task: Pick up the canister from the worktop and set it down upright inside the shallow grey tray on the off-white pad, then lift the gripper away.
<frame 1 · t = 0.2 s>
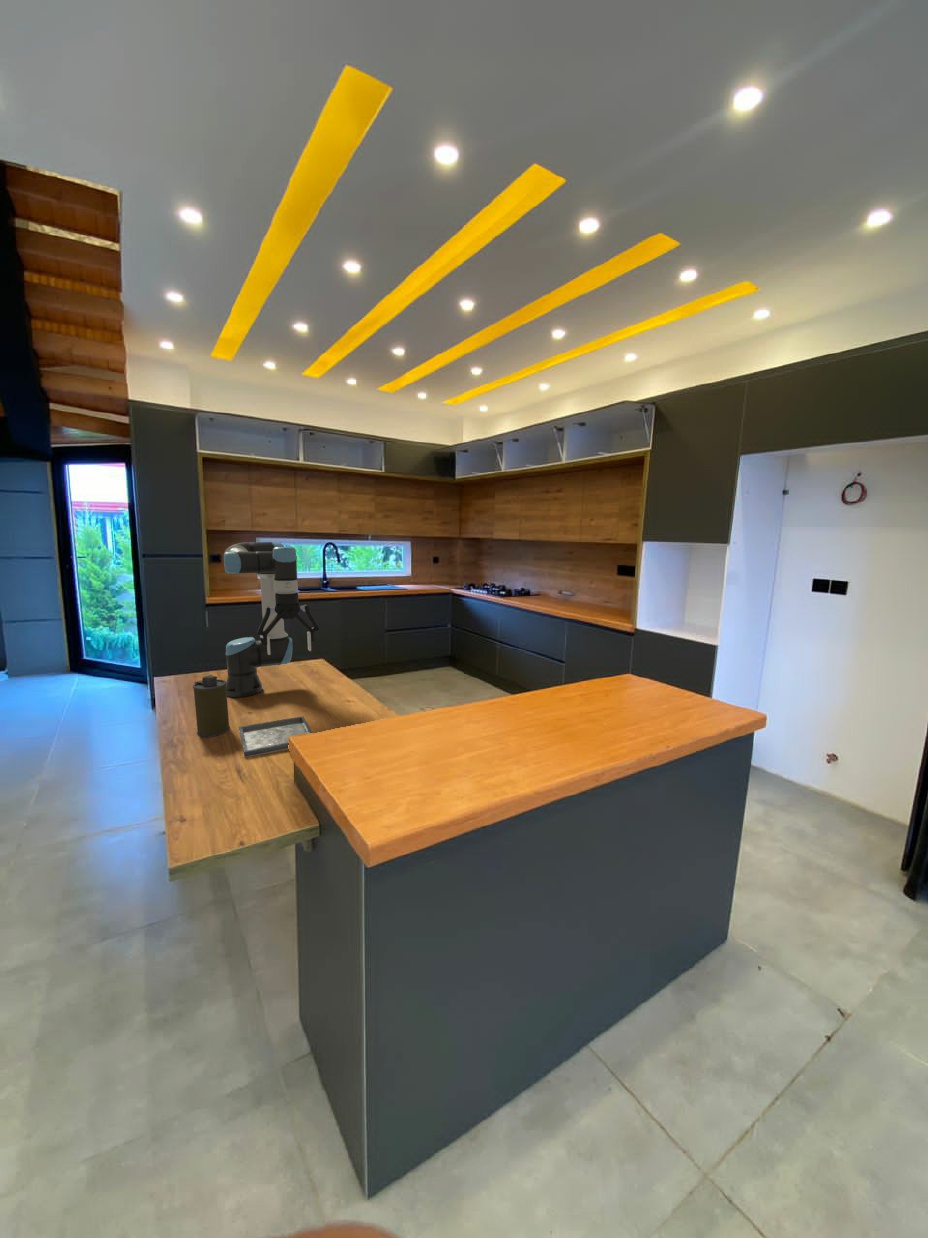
hand: (289, 652, 170), 28 cm above the table, tool pointing down, fingers open, 13 cm apart
shallow grey tray: (276, 737, 166), on the table
canister: (213, 731, 171), on the table
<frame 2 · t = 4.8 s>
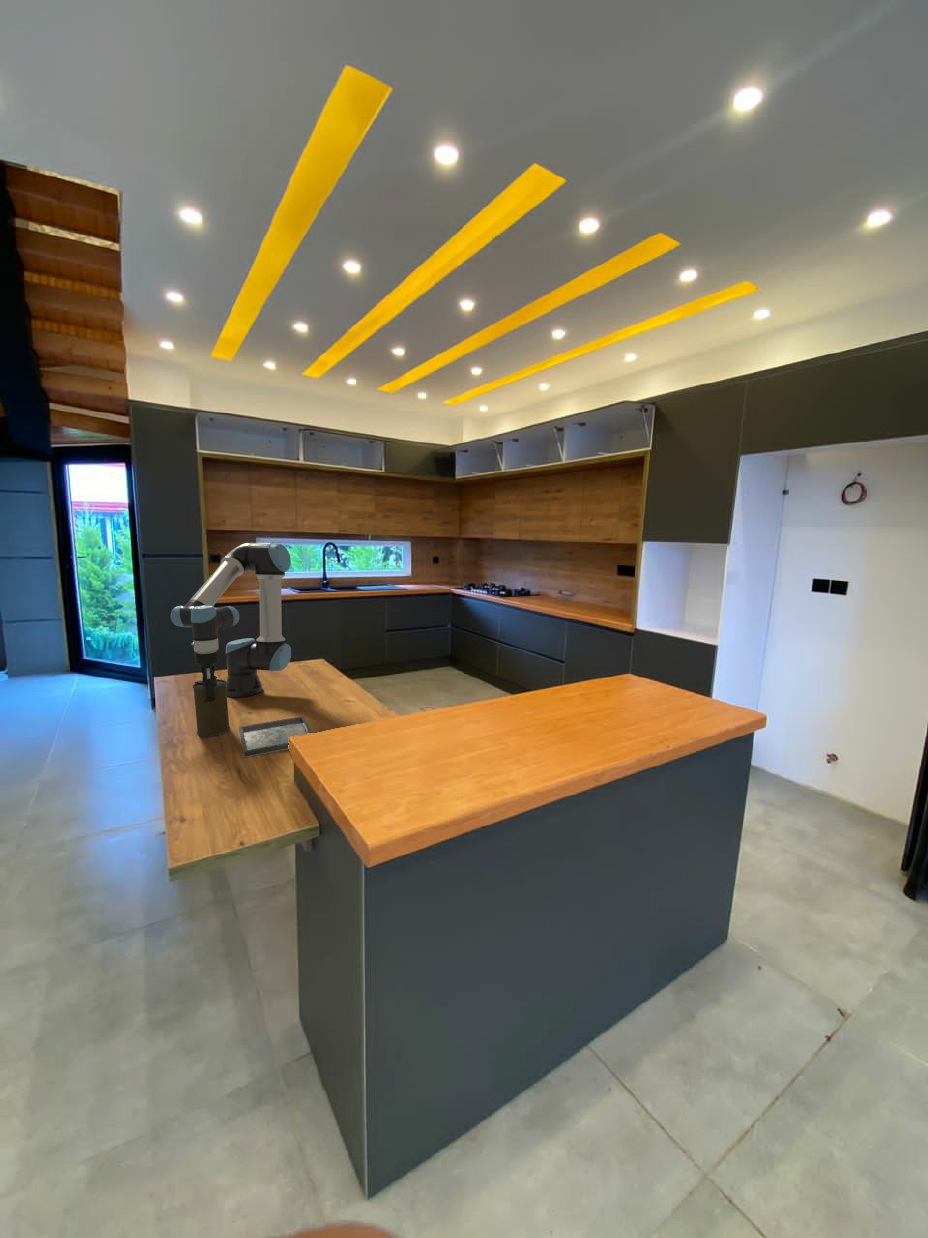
hand: (211, 715, 170), 6 cm above the table, tool pointing down, fingers open, 6 cm apart
canister: (213, 731, 171), on the table, touching hand
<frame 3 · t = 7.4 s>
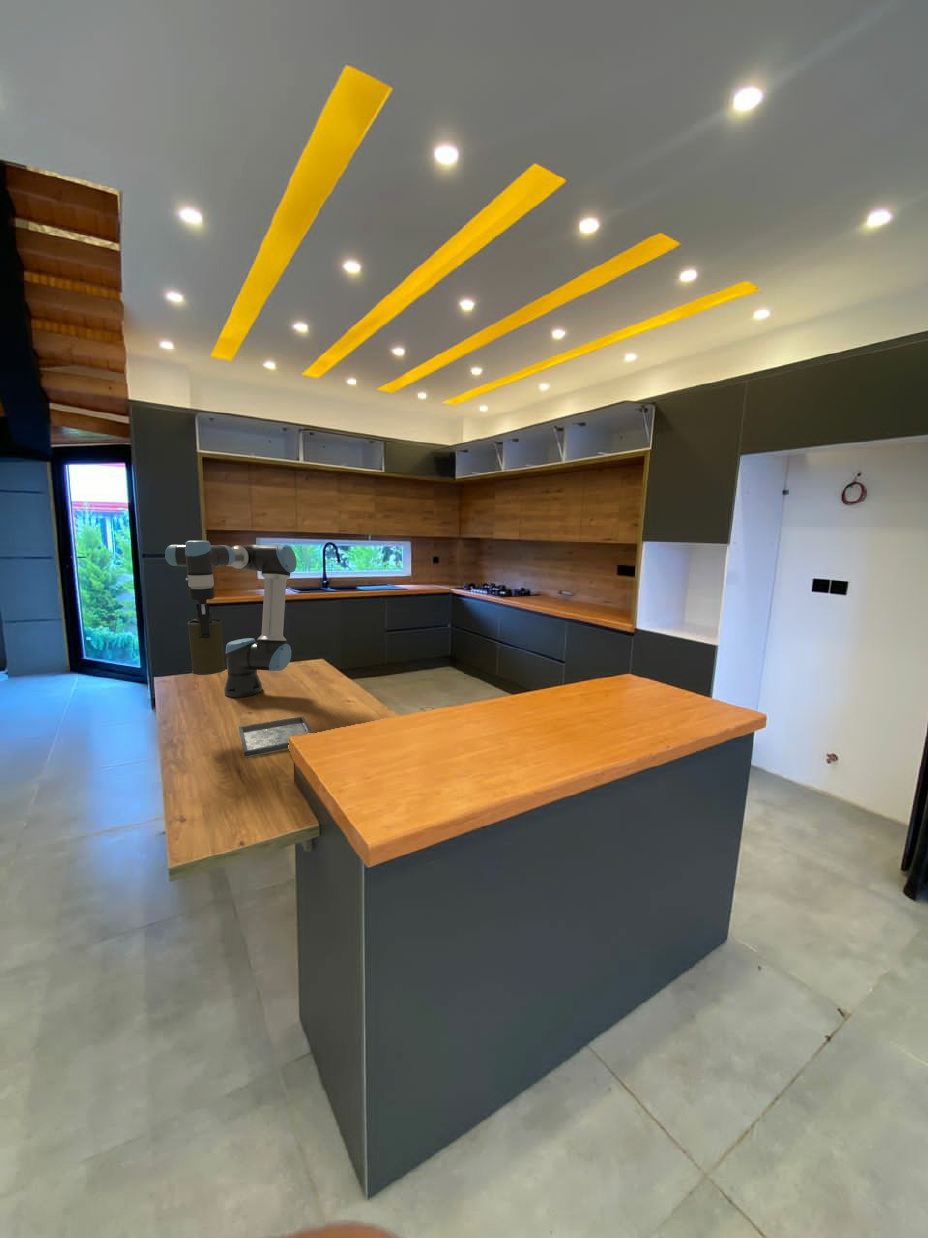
hand: (207, 654, 166), 28 cm above the table, tool pointing down, fingers open, 6 cm apart
canister: (208, 671, 167), point 22 cm above the table, touching hand
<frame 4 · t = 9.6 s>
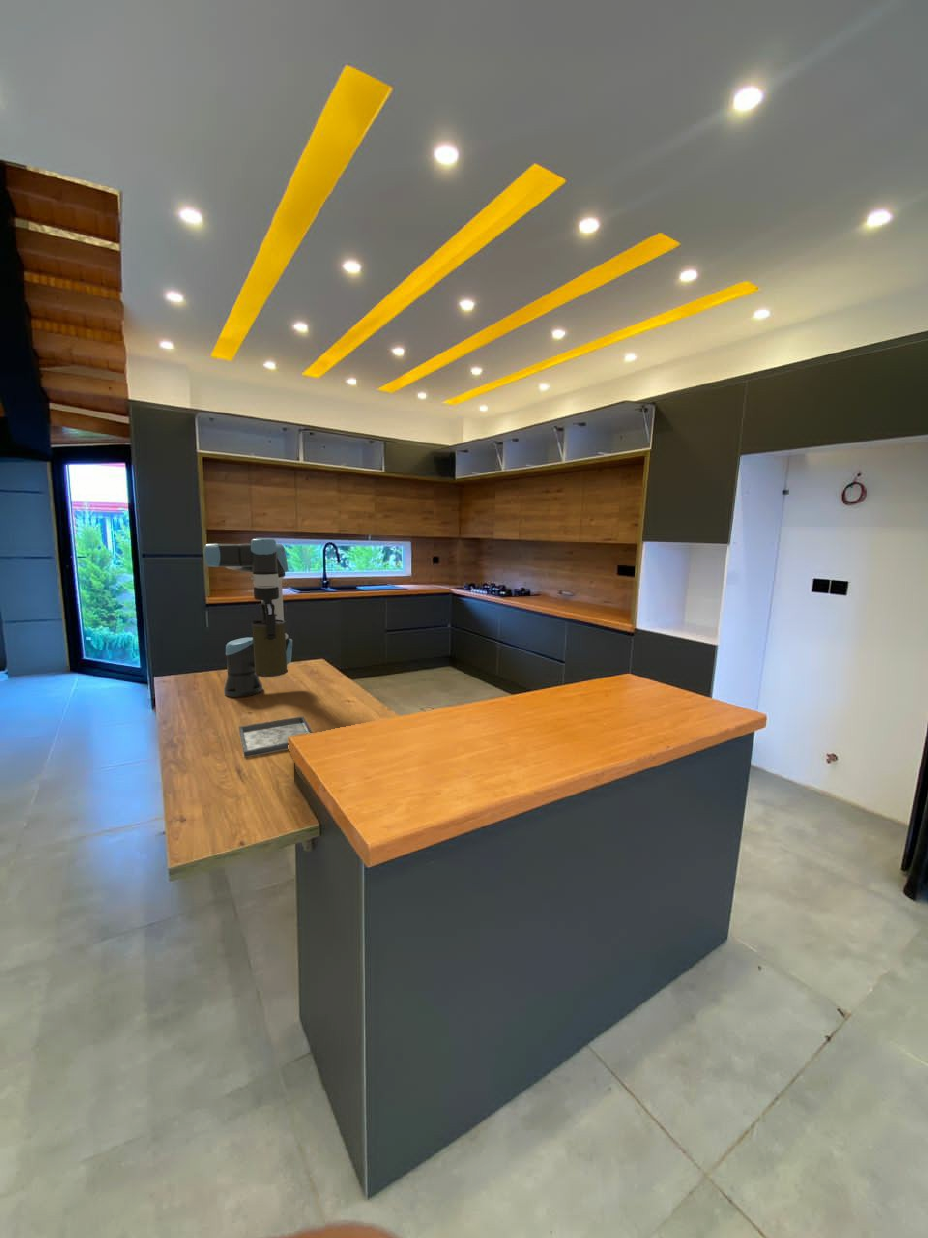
hand: (270, 655, 161), 29 cm above the table, tool pointing down, fingers open, 6 cm apart
canister: (271, 673, 162), point 23 cm above the table, touching hand
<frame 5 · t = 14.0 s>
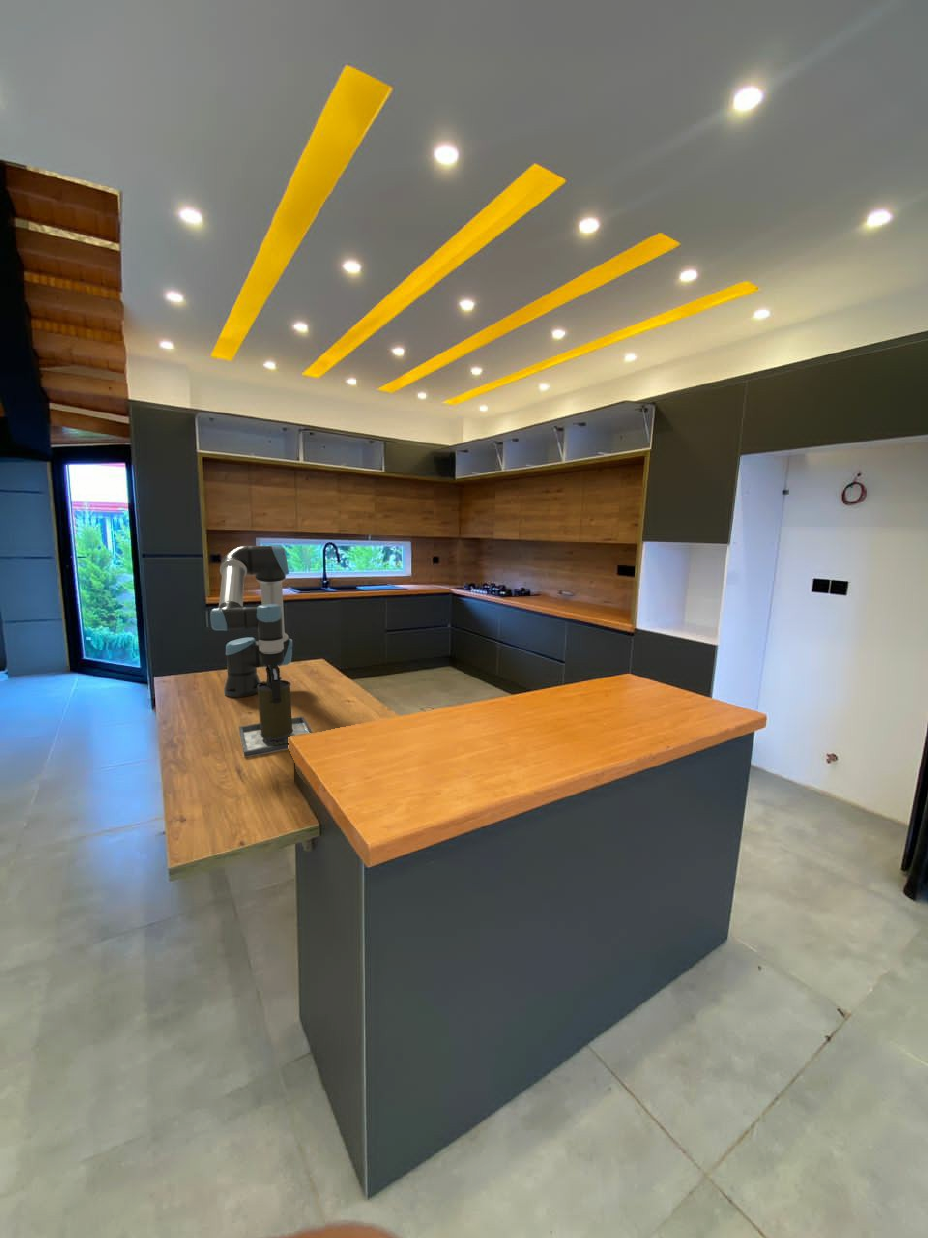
hand: (275, 716, 165), 8 cm above the table, tool pointing down, fingers open, 6 cm apart
canister: (276, 733, 166), point 2 cm above the table, touching hand
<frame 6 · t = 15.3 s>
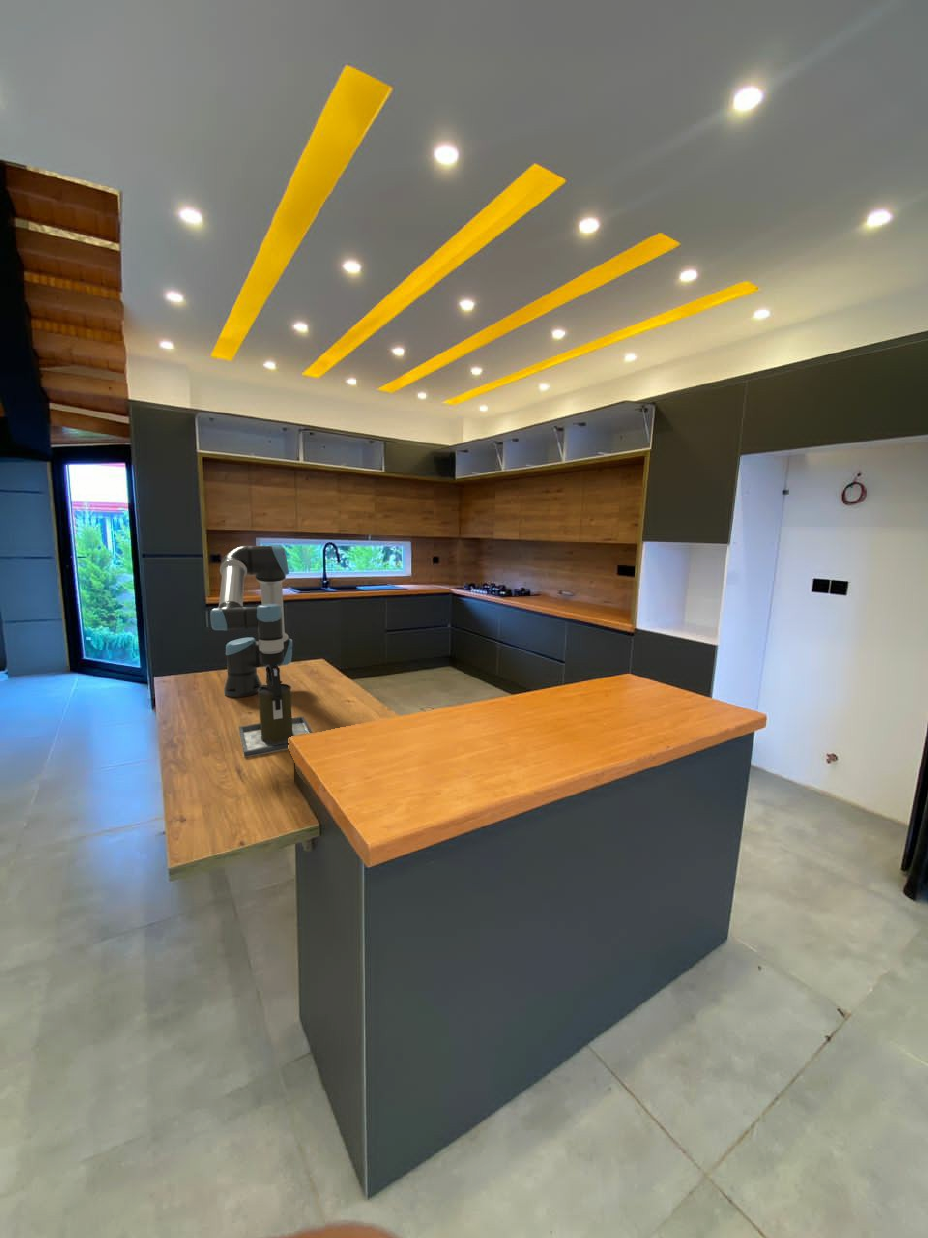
hand: (275, 711, 164), 10 cm above the table, tool pointing down, fingers open, 13 cm apart
canister: (276, 737, 166), resting on shallow grey tray
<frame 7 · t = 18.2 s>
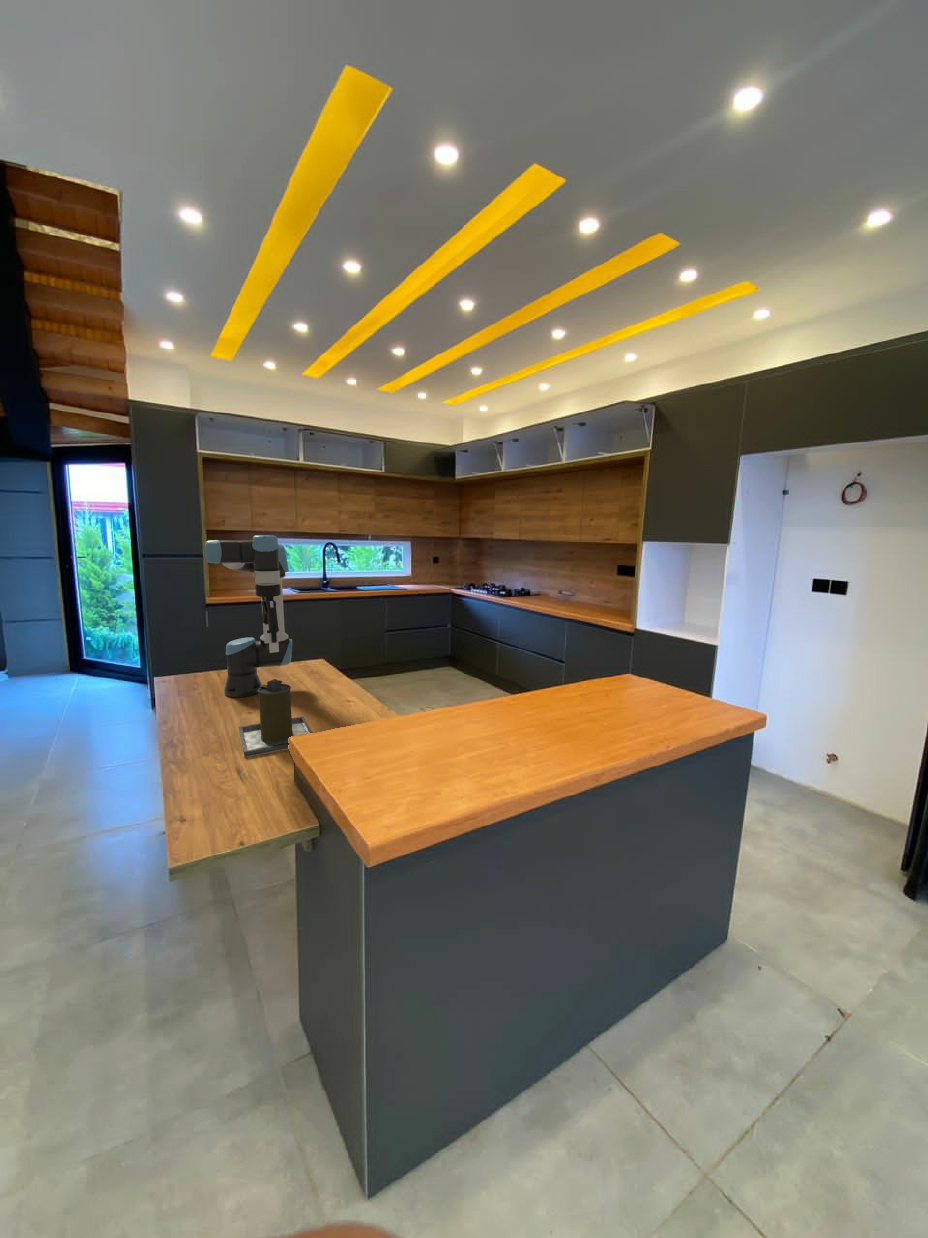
hand: (271, 647, 161), 32 cm above the table, tool pointing down, fingers open, 13 cm apart
nothing on the table moved.
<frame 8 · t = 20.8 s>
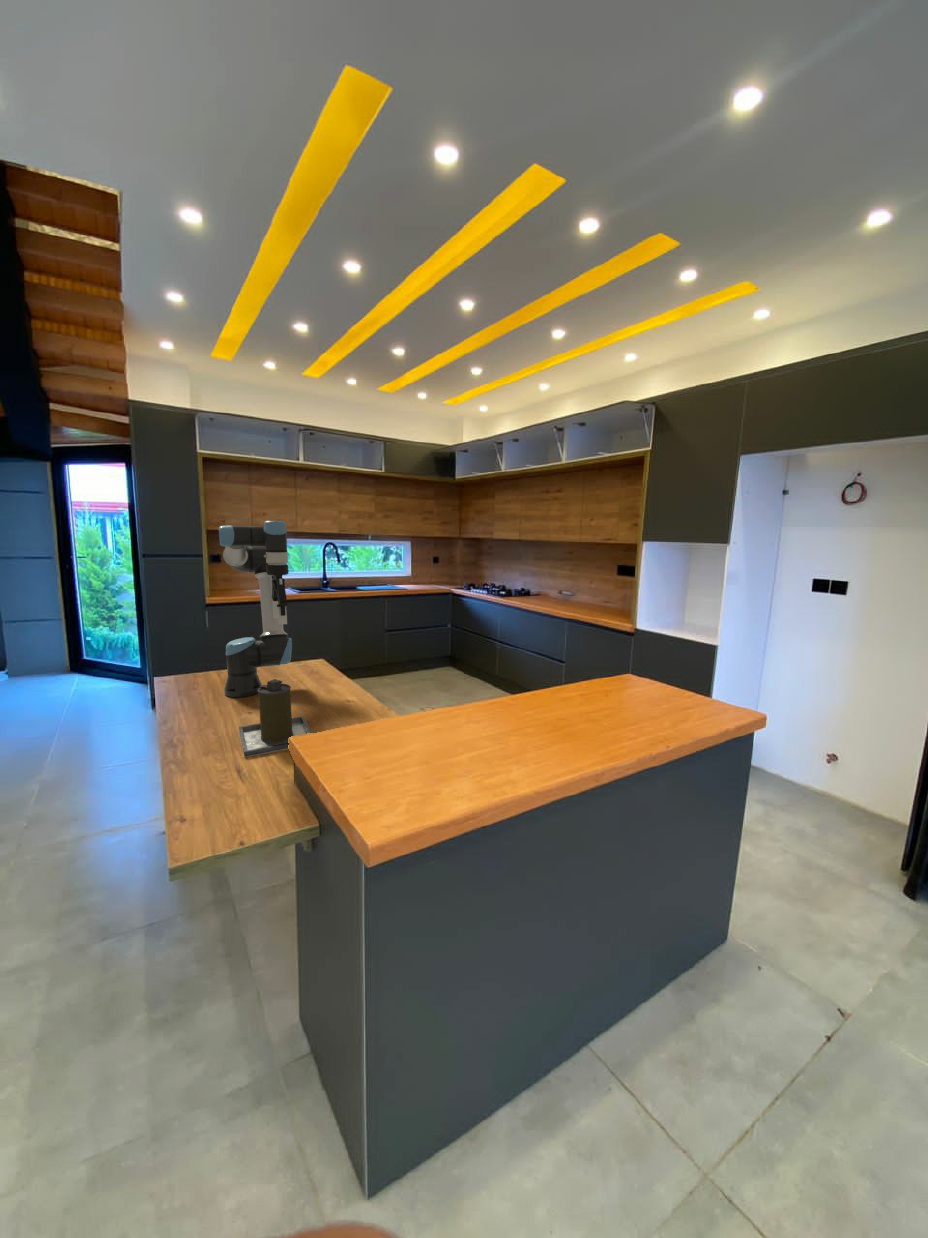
hand: (280, 621, 180), 37 cm above the table, tool pointing down, fingers open, 13 cm apart
nothing on the table moved.
at the end: canister inside the target area on the shallow grey tray (0.1 cm from its centre), point 0.2 cm above the shallow grey tray's base; canister tilted 0°; the gripper is holding nothing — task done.
